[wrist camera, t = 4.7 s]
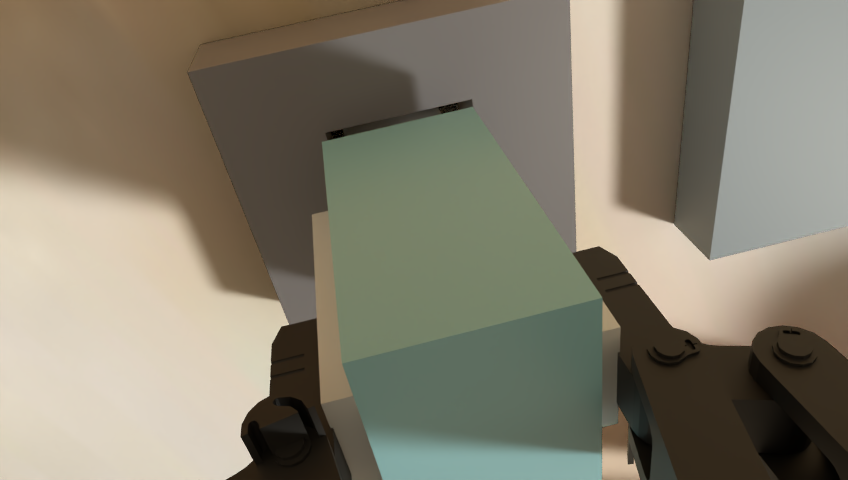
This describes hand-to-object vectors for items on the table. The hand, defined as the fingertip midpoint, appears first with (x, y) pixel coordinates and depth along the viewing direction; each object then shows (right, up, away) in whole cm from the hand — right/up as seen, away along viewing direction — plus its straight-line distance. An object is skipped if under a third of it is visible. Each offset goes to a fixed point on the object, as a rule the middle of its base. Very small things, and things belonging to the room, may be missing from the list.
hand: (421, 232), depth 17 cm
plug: (-1, +2, +3) cm, 4 cm away
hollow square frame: (-1, +3, +4) cm, 4 cm away
